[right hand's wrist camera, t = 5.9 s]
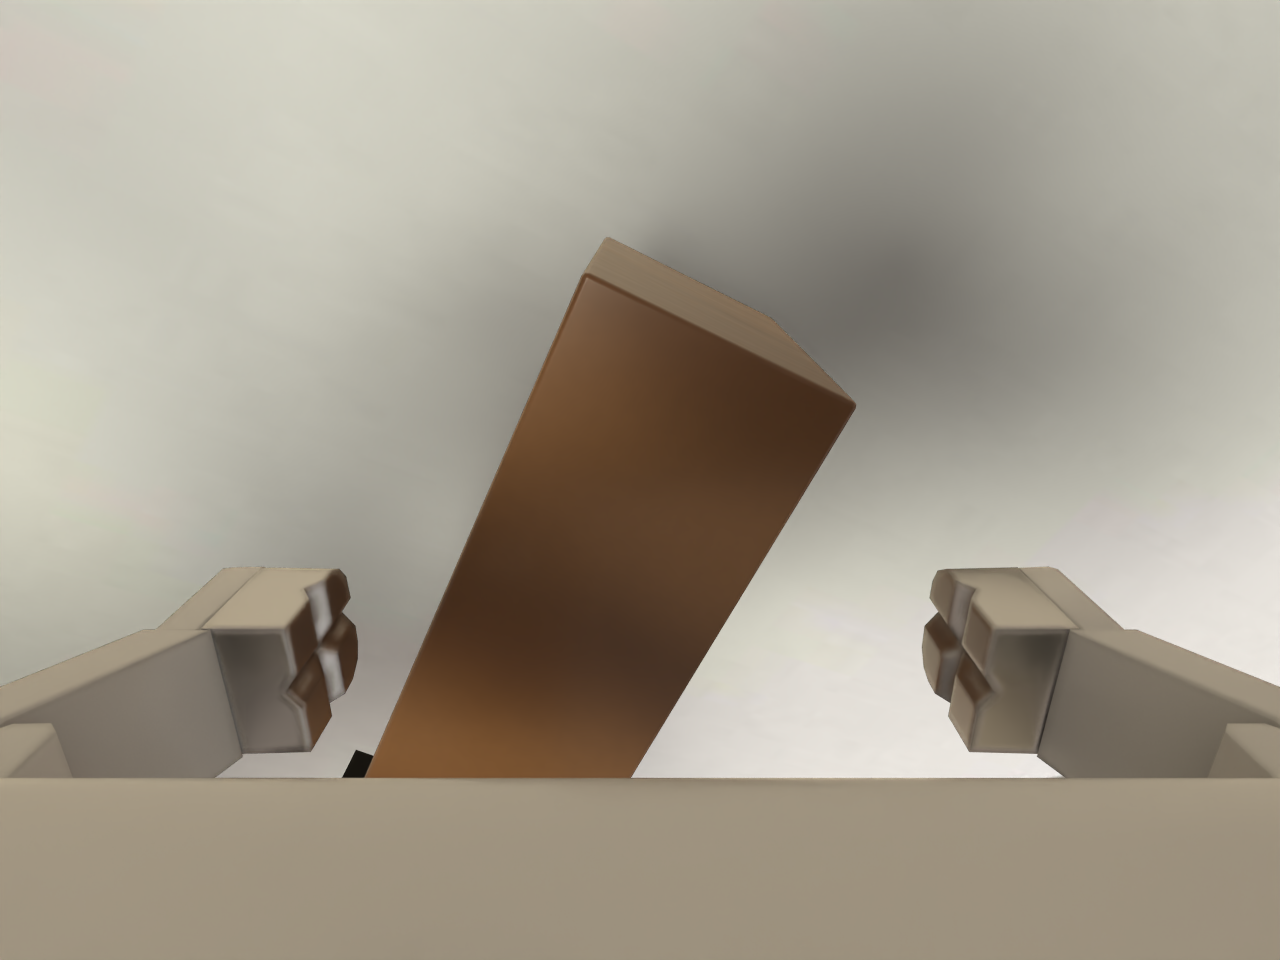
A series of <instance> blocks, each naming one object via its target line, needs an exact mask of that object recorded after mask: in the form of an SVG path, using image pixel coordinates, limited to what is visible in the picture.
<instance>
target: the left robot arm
mask: <svg viewBox="0 0 1280 960" xmlns="http://www.w3.org/2000/svg"><path fill="white" fill-rule="evenodd" d="M372 759H373V756H372V755H369V754H366V753H364V752H361V751H358V750H356V751H355V753H354V755H353V757H352V759H351V761H350V763H349V765H348V767H347V769H346V771H345V773H344V775H343V777H342V778H364V777H365V775H366V773H367V770H368V768H369V766H370V763H371V761H372Z"/></svg>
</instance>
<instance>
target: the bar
mask: <svg viewBox="0 0 1280 960" xmlns="http://www.w3.org/2000/svg"><path fill="white" fill-rule="evenodd" d="M855 408H856V403H855V402H854V401H853V400H852V399H851V398H850V397H849V396H848V395H847V394H846V393H845V392H844V391H843V390H842V389H841V388H840V387H839V386H838V385H837V384H836V383H835V382H834V381H833V380H832V379H831V378H830V377H829V376H828V375H827V374H826V373H825V372H824V371H823V370H822V369H821V368H820V366H819V365H818V364H817V363H816V362H815V361H814V360H813V359H812V358H811V357H810V356H809V355H808V354H807V353H806V352H805V351H804V350H803V349H802V348H801V347H800V346H799V345H798V344H797V343H796V342H795V341H794V340H793V339H792V338H791V337H790V336H789V335H788V334H787V333H786V332H785V331H784V330H783V329H782V328H781V327H780V326H779V325H778V324H777V323H776V322H775V321H774V320H773V319H772V318H770V317H768V316H766V315H764V314H762V313H760V312H758V311H756V310H754V309H752V308H750V307H748V306H746V305H744V304H742V303H740V302H738V301H736V300H734V299H732V298H730V297H728V296H726V295H724V294H722V293H720V292H718V291H716V290H714V289H712V288H710V287H708V286H706V285H704V284H702V283H700V282H698V281H696V280H694V279H692V278H690V277H688V276H686V275H684V274H682V273H680V272H678V271H676V270H674V269H672V268H670V267H668V266H666V265H664V264H662V263H660V262H658V261H656V260H654V259H652V258H650V257H648V256H646V255H644V254H642V253H640V252H638V251H636V250H634V249H632V248H630V247H628V246H626V245H624V244H622V243H620V242H618V241H616V240H614V239H612V238H610V237H606V238H605V239H604V241H603V242H602V244H601V245H600V247H599V249H598V250H597V252H596V253H595V255H594V257H593V258H592V260H591V261H590V263H589V265H588V266H587V268H586V269H585V271H584V273H583V274H582V276H581V278H580V281H579V283H578V285H577V287H576V290H575V292H574V294H573V297H572V299H571V301H570V304H569V306H568V308H567V311H566V313H565V315H564V317H563V320H562V322H561V324H560V327H559V329H558V331H557V334H556V336H555V338H554V341H553V343H552V345H551V348H550V350H549V352H548V354H547V357H546V359H545V361H544V364H543V366H542V368H541V371H540V373H539V375H538V378H537V380H536V382H535V384H534V387H533V389H532V391H531V394H530V396H529V398H528V401H527V403H526V405H525V408H524V410H523V412H522V415H521V417H520V419H519V421H518V424H517V426H516V428H515V431H514V433H513V435H512V438H511V440H510V442H509V445H508V447H507V449H506V451H505V454H504V456H503V458H502V461H501V463H500V465H499V468H498V470H497V472H496V475H495V477H494V479H493V482H492V484H491V486H490V488H489V491H488V493H487V495H486V498H485V500H484V502H483V505H482V507H481V509H480V512H479V514H478V516H477V519H476V521H475V523H474V525H473V528H472V530H471V532H470V535H469V537H468V539H467V542H466V544H465V546H464V549H463V551H462V553H461V555H460V558H459V560H458V562H457V565H456V567H455V569H454V572H453V574H452V576H451V579H450V581H449V583H448V586H447V588H446V590H445V592H444V595H443V597H442V599H441V602H440V604H439V606H438V609H437V611H436V613H435V616H434V618H433V620H432V622H431V625H430V627H429V629H428V632H427V634H426V636H425V639H424V641H423V643H422V646H421V648H420V650H419V653H418V655H417V657H416V659H415V662H414V664H413V666H412V669H411V671H410V673H409V676H408V678H407V680H406V683H405V685H404V687H403V689H402V692H401V694H400V696H399V699H398V701H397V703H396V706H395V708H394V710H393V713H392V715H391V717H390V720H389V722H388V724H387V726H386V729H385V731H384V733H383V736H382V738H381V740H380V743H379V745H378V747H377V750H376V752H375V754H374V756H373V759H372V761H371V763H370V766H369V768H368V770H367V773H366V775H365V777H364V778H631V777H632V775H633V773H634V772H635V770H636V768H637V767H638V765H639V763H640V762H641V760H642V759H643V757H644V755H645V754H646V752H647V750H648V749H649V747H650V745H651V744H652V742H653V740H654V739H655V737H656V736H657V734H658V732H659V731H660V729H661V727H662V726H663V724H664V722H665V721H666V719H667V717H668V716H669V714H670V713H671V711H672V709H673V708H674V706H675V704H676V703H677V701H678V699H679V698H680V696H681V694H682V693H683V691H684V690H685V688H686V686H687V685H688V683H689V681H690V680H691V678H692V676H693V675H694V673H695V671H696V670H697V668H698V666H699V665H700V663H701V662H702V660H703V658H704V657H705V655H706V653H707V652H708V650H709V648H710V647H711V645H712V643H713V642H714V640H715V639H716V637H717V635H718V634H719V632H720V630H721V629H722V627H723V625H724V624H725V622H726V620H727V619H728V617H729V616H730V614H731V612H732V611H733V609H734V607H735V606H736V604H737V602H738V601H739V599H740V597H741V596H742V594H743V593H744V591H745V589H746V588H747V586H748V584H749V583H750V581H751V579H752V578H753V576H754V574H755V573H756V571H757V570H758V568H759V566H760V565H761V563H762V561H763V560H764V558H765V556H766V555H767V553H768V551H769V550H770V548H771V547H772V545H773V543H774V542H775V540H776V538H777V537H778V535H779V533H780V532H781V530H782V528H783V527H784V525H785V524H786V522H787V520H788V519H789V517H790V515H791V514H792V512H793V510H794V509H795V507H796V505H797V504H798V502H799V501H800V499H801V497H802V496H803V494H804V492H805V491H806V489H807V487H808V486H809V484H810V482H811V481H812V479H813V478H814V476H815V474H816V473H817V471H818V469H819V468H820V466H821V464H822V463H823V461H824V459H825V458H826V456H827V455H828V453H829V451H830V450H831V448H832V446H833V445H834V443H835V441H836V440H837V438H838V436H839V435H840V433H841V431H842V430H843V428H844V427H845V425H846V423H847V422H848V420H849V418H850V417H851V415H852V413H853V412H854V410H855Z"/></svg>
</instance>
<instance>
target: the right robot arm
mask: <svg viewBox="0 0 1280 960" xmlns="http://www.w3.org/2000/svg"><path fill="white" fill-rule="evenodd" d="M349 599H350V593H349V588H348V583H347V579H346V576H345V575H344V574H343V572H342V571H341V570H340V569H320V568H265V567H237V568H224V569H222V570H221V571H220V572H219V573H218V574H217V575H216V576H214V577H213V578H212V579H211V580H210V581H209V582H208V583H207V584H206V585H205V586H203V587H202V588H201V589H200V590H199V591H198V592H197V593H196V594H195V595H193V596H192V597H191V598H190V599H189V600H188V601H187V602H186V603H185V604H184V605H182V606H181V607H180V608H179V609H178V610H177V611H176V612H175V613H174V614H172V615H171V616H170V617H169V618H168V619H167V620H166V621H165V622H164V623H162V624H161V625H160V626H159V627H158V628H157V629H156V630H141V631H139V632H136V633H134V634H131V635H129V636H126V637H124V638H121V639H119V640H116V641H114V642H111V643H109V644H106V645H104V646H101V647H99V648H96V649H94V650H91V651H89V652H86V653H84V654H81V655H79V656H76V657H74V658H71V659H69V660H66V661H64V662H61V663H59V664H56V665H54V666H51V667H49V668H46V669H44V670H41V671H39V672H36V673H34V674H31V675H29V676H26V677H24V678H21V679H19V680H16V681H14V682H11V683H9V684H6V685H4V686H1V687H0V960H1280V687H1279V686H1276V685H1274V684H1271V683H1269V682H1266V681H1264V680H1261V679H1259V678H1256V677H1254V676H1251V675H1249V674H1246V673H1244V672H1241V671H1239V670H1236V669H1234V668H1231V667H1229V666H1226V665H1224V664H1221V663H1219V662H1216V661H1214V660H1211V659H1209V658H1206V657H1204V656H1201V655H1199V654H1196V653H1194V652H1191V651H1189V650H1186V649H1184V648H1181V647H1179V646H1176V645H1174V644H1171V643H1169V642H1166V641H1164V640H1161V639H1159V638H1156V637H1154V636H1151V635H1149V634H1146V633H1144V632H1141V631H1139V630H1124V629H1123V628H1122V627H1121V626H1120V625H1119V624H1118V623H1116V622H1115V621H1114V620H1113V619H1112V618H1111V617H1110V616H1109V615H1108V614H1107V613H1105V612H1104V611H1103V610H1102V609H1101V608H1100V607H1099V606H1098V605H1097V604H1096V603H1094V602H1093V601H1092V600H1091V599H1090V598H1089V597H1088V596H1087V595H1086V594H1085V593H1083V592H1082V591H1081V590H1080V589H1079V588H1078V587H1077V586H1076V585H1075V584H1073V583H1072V582H1071V581H1070V580H1069V579H1068V578H1067V577H1066V576H1065V575H1064V574H1062V573H1061V572H1060V571H1059V570H1058V569H1055V568H1051V567H1027V568H1018V567H1010V568H968V569H944V570H938V571H937V573H936V575H935V577H934V579H933V582H932V587H931V592H930V599H931V601H932V603H933V604H934V606H935V607H936V609H937V610H938V613H937V614H936V615H935V616H934V617H933V618H932V619H931V620H930V621H929V622H928V623H927V624H926V625H925V627H924V635H923V642H922V654H923V666H924V670H925V673H926V676H927V679H928V682H929V683H930V685H931V687H932V689H933V691H934V693H935V694H937V695H938V696H940V697H942V698H943V699H945V700H946V701H948V702H950V709H949V714H948V717H949V718H950V720H951V722H952V723H953V725H954V727H955V729H956V730H957V732H958V734H959V735H960V737H961V739H962V740H963V742H964V744H965V745H966V747H967V749H968V750H969V752H991V753H1028V754H1038V755H1037V757H1038V758H1040V759H1041V760H1042V761H1044V762H1045V763H1046V764H1048V765H1049V766H1050V767H1052V768H1053V769H1054V770H1056V771H1057V772H1059V773H1060V774H1061V775H1063V776H1064V777H1065V778H215V777H216V776H218V775H219V774H220V773H222V772H223V771H224V770H226V769H227V768H228V767H230V766H231V765H233V764H234V763H235V762H237V761H238V760H239V759H241V758H242V757H243V755H242V754H252V753H288V752H311V751H312V749H313V747H314V746H315V744H316V742H317V740H318V739H319V737H320V735H321V734H322V732H323V730H324V729H325V727H326V725H327V723H328V722H329V720H330V718H331V717H332V714H331V709H330V702H332V701H334V700H335V699H337V698H338V697H340V696H342V695H343V694H345V692H346V691H347V689H348V687H349V685H350V683H351V681H352V680H353V676H354V672H355V668H356V664H357V659H358V640H357V633H356V627H355V625H354V624H353V623H352V622H351V621H350V620H349V619H348V618H347V617H346V616H345V615H344V614H343V613H342V610H343V609H344V607H345V606H346V604H347V603H348V601H349Z"/></svg>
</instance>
